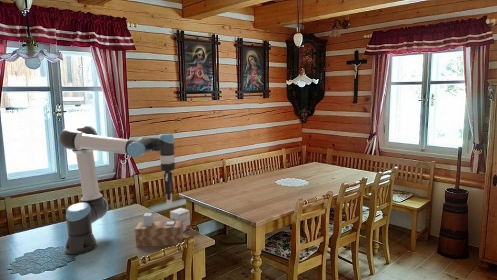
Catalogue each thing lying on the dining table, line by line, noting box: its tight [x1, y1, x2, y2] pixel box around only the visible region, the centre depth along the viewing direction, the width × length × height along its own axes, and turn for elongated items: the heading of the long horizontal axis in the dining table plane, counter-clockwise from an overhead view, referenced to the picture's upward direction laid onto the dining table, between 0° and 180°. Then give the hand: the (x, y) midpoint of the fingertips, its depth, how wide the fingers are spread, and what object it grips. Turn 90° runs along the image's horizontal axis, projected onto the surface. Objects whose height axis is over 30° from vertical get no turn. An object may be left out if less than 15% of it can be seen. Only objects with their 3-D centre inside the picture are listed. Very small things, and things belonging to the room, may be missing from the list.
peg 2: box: [166, 221, 175, 226], centre depth 193 cm, size 4×4×10 cm
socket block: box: [134, 220, 184, 248], centre depth 193 cm, size 24×10×10 cm, turn 94°
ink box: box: [169, 207, 191, 232], centre depth 210 cm, size 9×9×12 cm
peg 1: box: [143, 212, 154, 227], centre depth 192 cm, size 4×4×10 cm
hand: (169, 204), depth 191 cm, fingers closed
